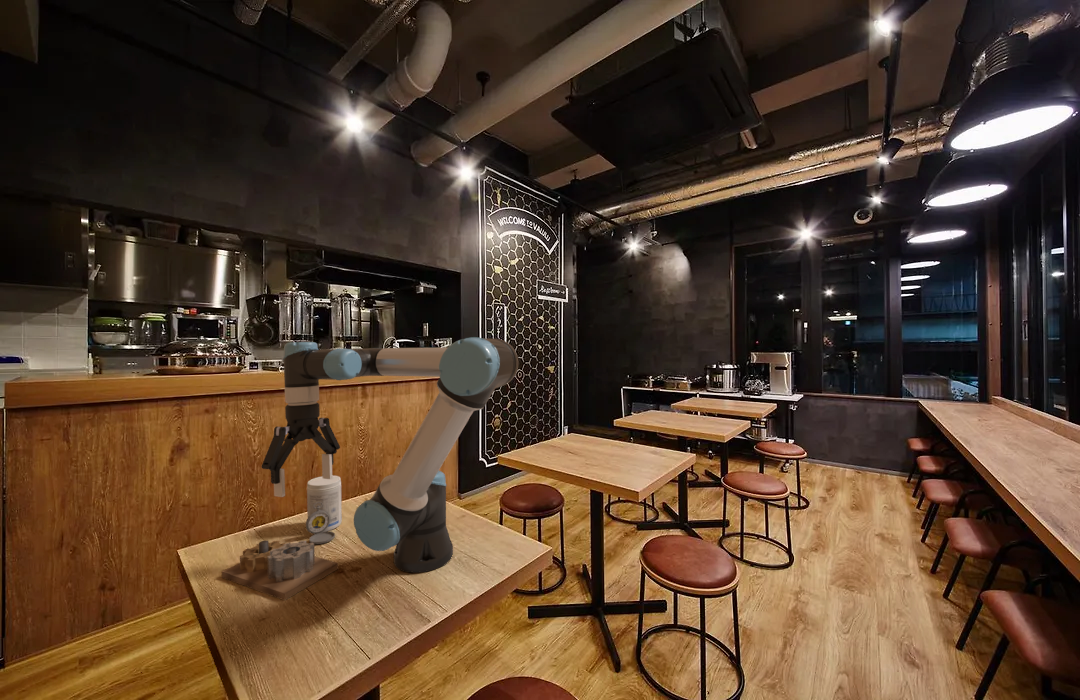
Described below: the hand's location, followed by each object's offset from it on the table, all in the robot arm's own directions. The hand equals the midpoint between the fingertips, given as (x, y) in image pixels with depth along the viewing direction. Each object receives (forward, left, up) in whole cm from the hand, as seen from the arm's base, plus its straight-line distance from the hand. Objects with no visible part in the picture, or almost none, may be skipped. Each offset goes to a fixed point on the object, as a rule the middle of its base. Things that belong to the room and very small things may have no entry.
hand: (305, 486), depth 105 cm
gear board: (+4, +4, -21) cm, 22 cm away
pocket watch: (+11, -13, -21) cm, 27 cm away
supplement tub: (+17, -19, -21) cm, 33 cm away
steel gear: (0, +4, -19) cm, 20 cm away
